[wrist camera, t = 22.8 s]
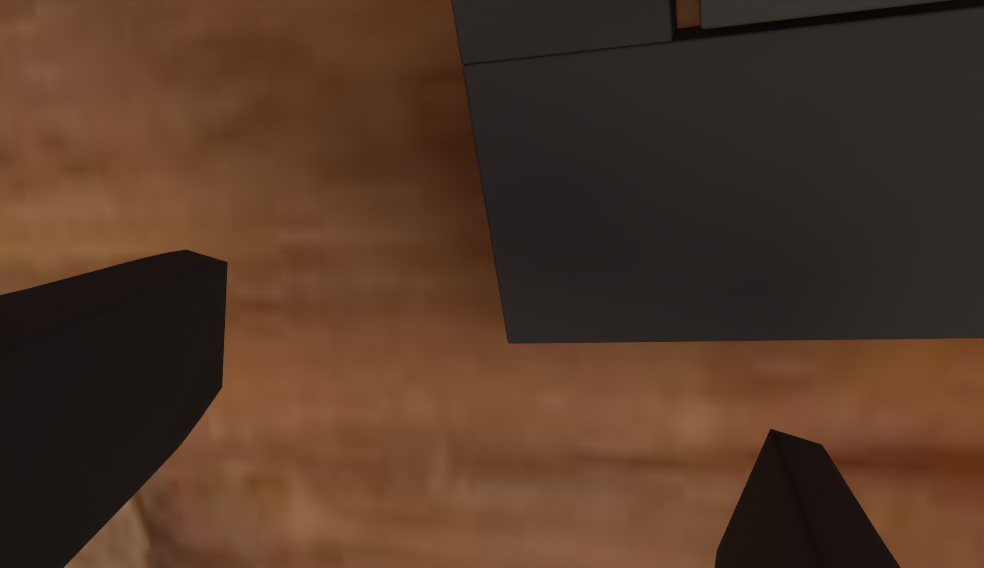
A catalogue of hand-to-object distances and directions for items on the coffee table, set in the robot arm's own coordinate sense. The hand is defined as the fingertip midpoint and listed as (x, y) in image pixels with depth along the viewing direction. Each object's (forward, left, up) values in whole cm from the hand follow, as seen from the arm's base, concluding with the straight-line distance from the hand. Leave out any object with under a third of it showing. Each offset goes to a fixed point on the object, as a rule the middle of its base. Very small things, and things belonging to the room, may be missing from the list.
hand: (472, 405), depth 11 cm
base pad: (+4, +3, -9) cm, 11 cm away
